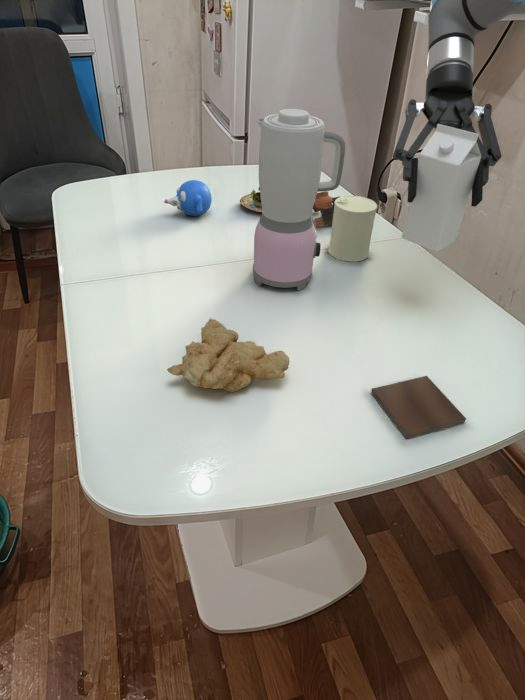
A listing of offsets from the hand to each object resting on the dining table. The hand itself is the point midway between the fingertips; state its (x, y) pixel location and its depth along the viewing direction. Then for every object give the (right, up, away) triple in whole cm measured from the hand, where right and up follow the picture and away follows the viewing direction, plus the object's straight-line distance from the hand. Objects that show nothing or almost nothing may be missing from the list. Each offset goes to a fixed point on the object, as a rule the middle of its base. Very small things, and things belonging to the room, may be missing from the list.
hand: (444, 201), depth 84 cm
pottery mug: (-15, +8, +45) cm, 49 cm away
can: (-11, -3, +32) cm, 34 cm away
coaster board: (-7, -33, -7) cm, 35 cm away
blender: (-24, -10, +22) cm, 34 cm away
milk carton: (0, -5, +8) cm, 9 cm away
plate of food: (-30, +13, +50) cm, 60 cm away
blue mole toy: (-49, +9, +45) cm, 67 cm away
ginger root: (-36, -29, -3) cm, 46 cm away
